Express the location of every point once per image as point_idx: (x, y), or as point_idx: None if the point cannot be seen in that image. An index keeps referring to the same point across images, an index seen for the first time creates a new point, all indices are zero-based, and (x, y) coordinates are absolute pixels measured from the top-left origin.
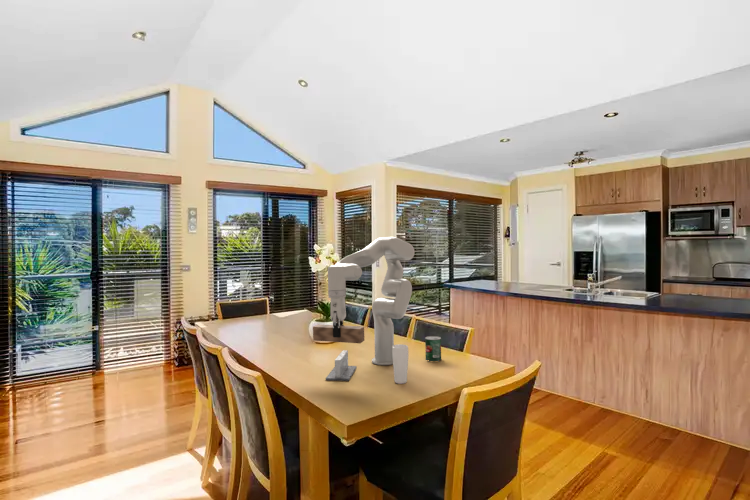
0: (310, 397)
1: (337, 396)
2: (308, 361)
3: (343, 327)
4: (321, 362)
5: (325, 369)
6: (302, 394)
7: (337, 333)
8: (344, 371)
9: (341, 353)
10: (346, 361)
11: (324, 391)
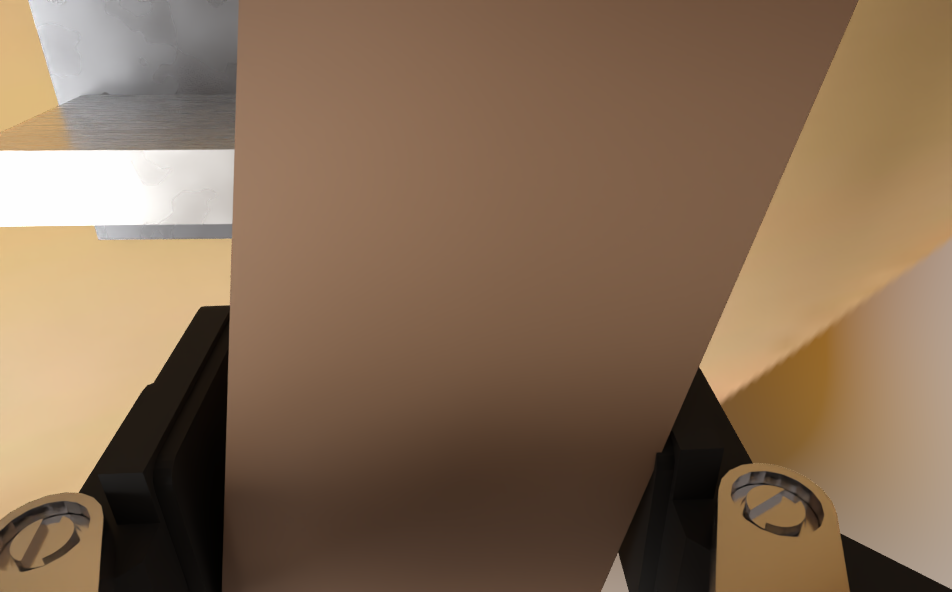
0: (916, 238)
1: (945, 6)
2: (29, 495)
3: (563, 369)
4: (8, 394)
5: (199, 308)
6: (838, 313)
7: (704, 402)
8: None
9: (160, 206)
10: (133, 115)
11: (794, 163)
